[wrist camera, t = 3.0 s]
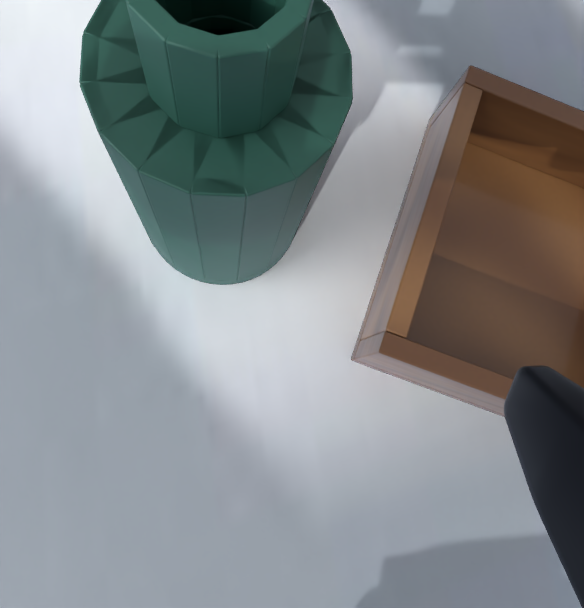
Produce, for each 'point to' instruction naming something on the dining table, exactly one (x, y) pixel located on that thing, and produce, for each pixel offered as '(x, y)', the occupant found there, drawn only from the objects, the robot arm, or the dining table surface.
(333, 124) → the bottle
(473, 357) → the crate
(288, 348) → the dining table surface
